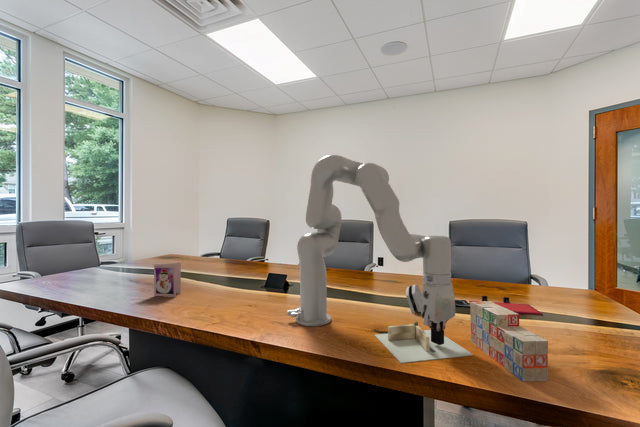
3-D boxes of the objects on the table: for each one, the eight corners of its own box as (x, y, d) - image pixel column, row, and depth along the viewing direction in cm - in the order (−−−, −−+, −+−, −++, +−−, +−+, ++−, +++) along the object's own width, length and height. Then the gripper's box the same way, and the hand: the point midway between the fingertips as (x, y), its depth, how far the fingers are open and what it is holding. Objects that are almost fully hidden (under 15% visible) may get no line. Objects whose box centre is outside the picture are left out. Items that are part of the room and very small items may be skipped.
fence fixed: (389, 342, 88) (389, 325, 88) (387, 340, 89) (387, 323, 89) (418, 339, 90) (418, 322, 90) (416, 337, 91) (416, 321, 91)
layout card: (400, 363, 75) (400, 362, 75) (374, 335, 93) (374, 334, 93) (473, 355, 79) (473, 354, 79) (434, 329, 97) (434, 329, 97)
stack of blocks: (549, 381, 67) (548, 327, 67) (522, 382, 66) (521, 327, 67) (490, 341, 88) (490, 300, 88) (470, 342, 88) (469, 300, 88)
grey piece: (425, 314, 112) (416, 289, 113) (413, 317, 113) (404, 292, 115) (427, 302, 127) (419, 280, 128) (416, 305, 129) (408, 283, 130)
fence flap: (415, 337, 89) (415, 325, 89) (418, 337, 89) (418, 325, 89) (426, 350, 81) (426, 337, 81) (429, 350, 81) (429, 337, 81)
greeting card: (152, 296, 139) (152, 265, 139) (163, 292, 146) (163, 262, 146) (174, 297, 137) (174, 265, 137) (184, 293, 144) (184, 263, 144)
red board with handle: (448, 299, 132) (456, 311, 117) (448, 293, 132) (456, 304, 117) (524, 304, 125) (542, 317, 110) (524, 298, 125) (542, 309, 110)
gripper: (431, 284, 77) (432, 354, 77) (464, 278, 85) (465, 341, 85) (408, 279, 84) (409, 344, 84) (441, 273, 92) (442, 332, 92)
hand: (437, 342), depth 84 cm, fingers closed
